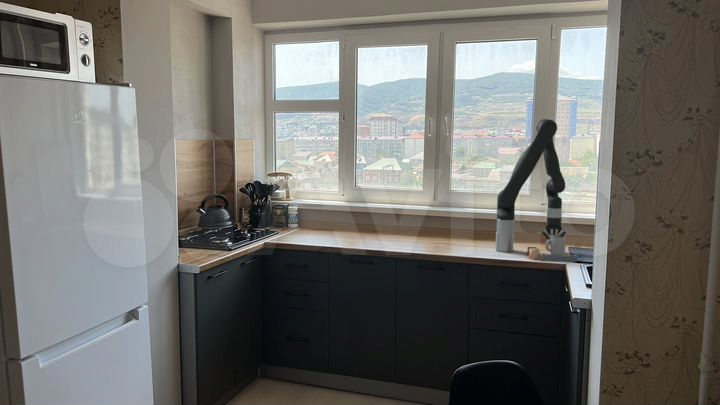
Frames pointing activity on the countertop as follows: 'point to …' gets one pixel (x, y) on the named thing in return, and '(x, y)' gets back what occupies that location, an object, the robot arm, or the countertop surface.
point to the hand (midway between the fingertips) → (552, 247)
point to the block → (529, 248)
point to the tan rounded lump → (534, 253)
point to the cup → (556, 245)
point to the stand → (559, 257)
